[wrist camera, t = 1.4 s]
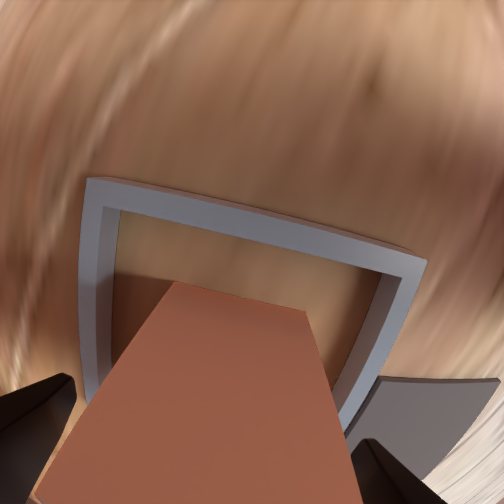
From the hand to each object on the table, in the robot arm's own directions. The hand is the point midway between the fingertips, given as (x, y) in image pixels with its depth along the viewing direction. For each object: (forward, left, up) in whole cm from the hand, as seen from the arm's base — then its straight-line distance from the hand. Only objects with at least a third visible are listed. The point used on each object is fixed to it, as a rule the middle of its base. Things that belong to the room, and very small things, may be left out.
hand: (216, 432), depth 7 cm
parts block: (0, 0, -4) cm, 4 cm away
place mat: (-12, +5, -4) cm, 14 cm away
